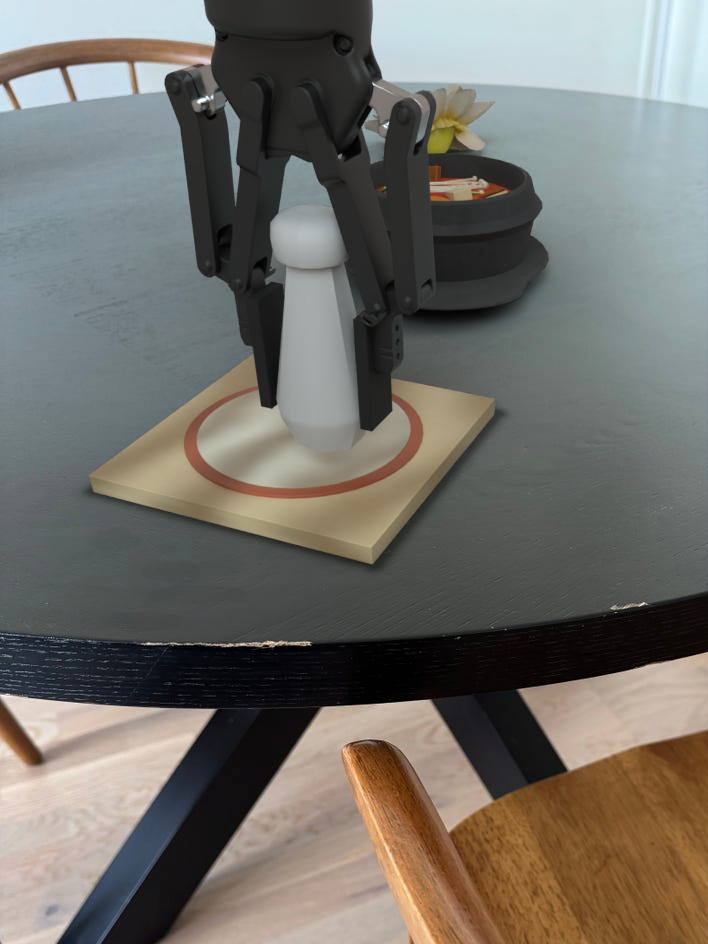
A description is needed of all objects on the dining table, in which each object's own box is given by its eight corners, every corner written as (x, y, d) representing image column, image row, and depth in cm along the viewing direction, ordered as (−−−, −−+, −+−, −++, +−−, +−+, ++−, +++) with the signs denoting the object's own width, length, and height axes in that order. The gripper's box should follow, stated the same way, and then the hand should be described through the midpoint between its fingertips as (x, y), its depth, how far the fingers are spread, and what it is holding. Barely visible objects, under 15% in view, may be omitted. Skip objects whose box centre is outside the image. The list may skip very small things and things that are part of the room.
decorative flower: (474, 119, 121) (476, 33, 113) (505, 164, 115) (510, 78, 107) (361, 136, 118) (354, 50, 110) (387, 185, 112) (382, 97, 104)
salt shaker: (262, 432, 58) (230, 207, 49) (339, 403, 61) (321, 186, 52) (318, 471, 55) (294, 238, 46) (397, 438, 57) (388, 214, 49)
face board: (93, 492, 58) (86, 471, 57) (258, 366, 71) (256, 347, 70) (372, 564, 53) (371, 542, 52) (494, 414, 66) (495, 394, 65)
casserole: (346, 229, 94) (339, 136, 89) (532, 228, 96) (536, 136, 90) (334, 334, 76) (324, 225, 70) (565, 331, 77) (573, 223, 71)
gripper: (516, -73, 41) (497, 412, 56) (151, -98, 46) (225, 354, 61) (448, -56, 36) (448, 473, 51) (44, -86, 41) (154, 405, 56)
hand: (326, 408), depth 56 cm, fingers closed on salt shaker, 6 cm apart
